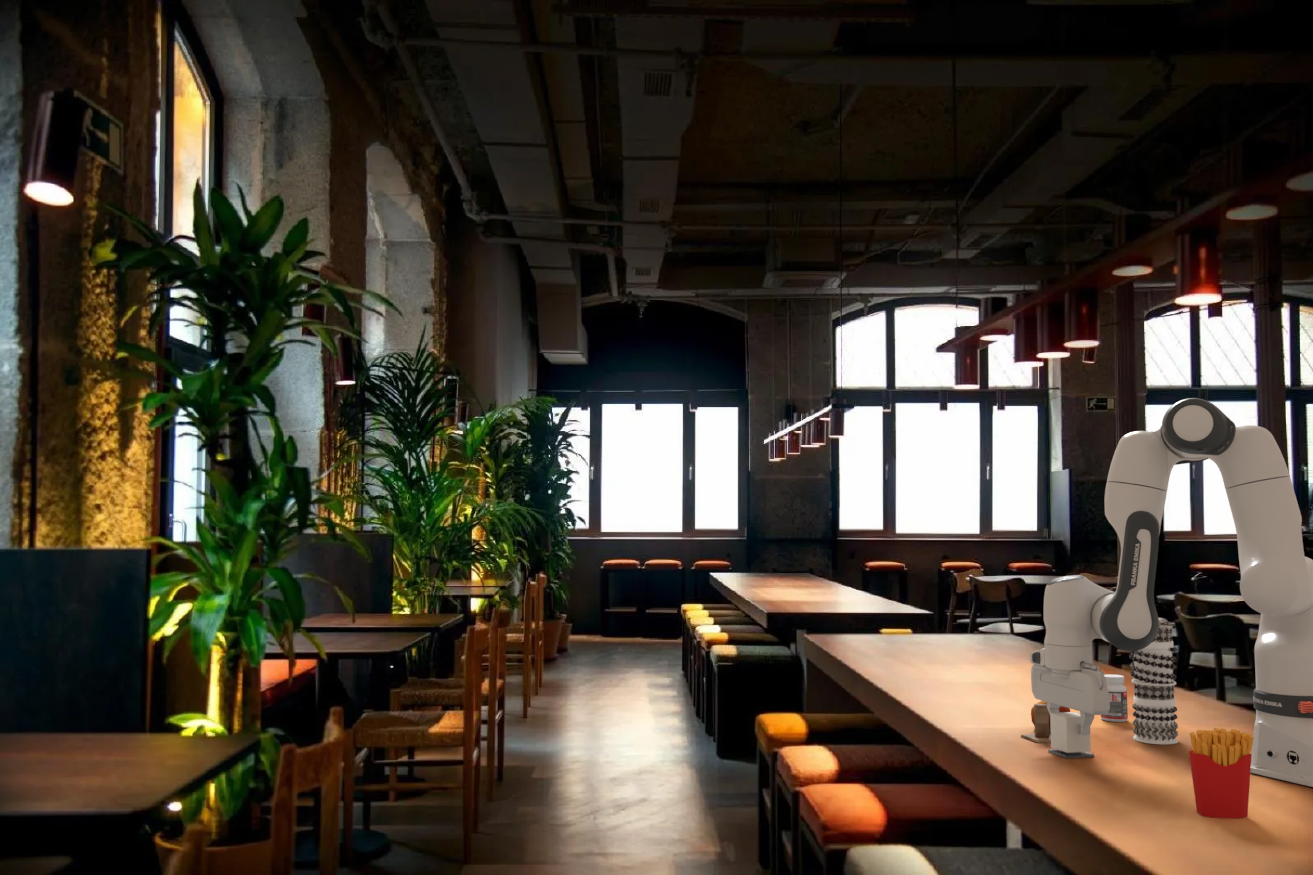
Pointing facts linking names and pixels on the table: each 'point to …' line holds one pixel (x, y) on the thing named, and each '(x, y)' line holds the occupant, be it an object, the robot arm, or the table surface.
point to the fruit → (1061, 709)
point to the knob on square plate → (1040, 725)
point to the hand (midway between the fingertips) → (1070, 730)
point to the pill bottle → (1116, 699)
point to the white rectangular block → (1068, 733)
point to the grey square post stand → (1070, 754)
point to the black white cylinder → (1155, 689)
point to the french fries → (1221, 772)
